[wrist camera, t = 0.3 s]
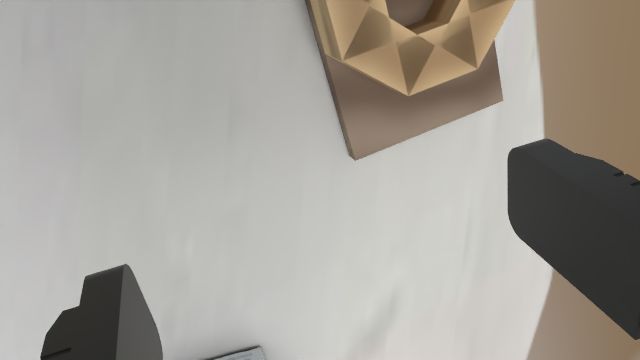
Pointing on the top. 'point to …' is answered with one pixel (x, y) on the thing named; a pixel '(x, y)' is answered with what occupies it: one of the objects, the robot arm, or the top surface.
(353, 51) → the tan octagonal ring
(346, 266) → the top surface
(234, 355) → the tea box
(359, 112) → the board
